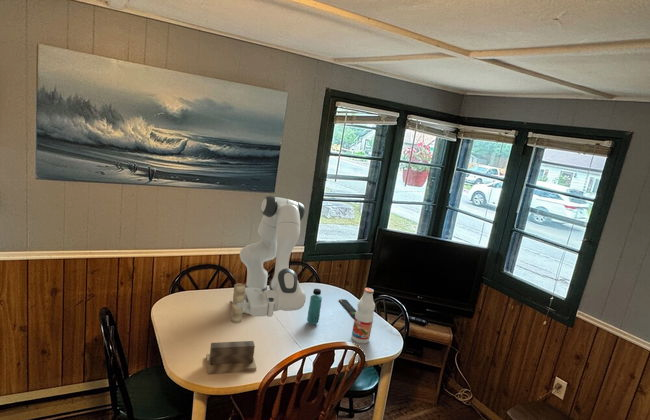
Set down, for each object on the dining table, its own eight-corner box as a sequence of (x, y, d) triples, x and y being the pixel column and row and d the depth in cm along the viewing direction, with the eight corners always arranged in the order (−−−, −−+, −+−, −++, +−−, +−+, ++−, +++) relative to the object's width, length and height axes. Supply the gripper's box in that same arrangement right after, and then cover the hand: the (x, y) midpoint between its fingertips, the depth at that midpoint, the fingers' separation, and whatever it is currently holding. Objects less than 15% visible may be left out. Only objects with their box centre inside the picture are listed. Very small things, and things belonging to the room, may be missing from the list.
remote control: (353, 320, 237) (354, 317, 237) (338, 301, 259) (338, 299, 258) (361, 319, 239) (362, 317, 239) (345, 301, 261) (346, 299, 260)
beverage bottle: (314, 328, 220) (319, 293, 216) (303, 323, 223) (309, 289, 219) (320, 324, 225) (326, 290, 221) (310, 319, 229) (315, 286, 224)
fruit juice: (372, 341, 216) (382, 291, 210) (360, 345, 209) (370, 294, 203) (359, 332, 222) (368, 284, 216) (347, 337, 216) (356, 287, 210)
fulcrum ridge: (207, 374, 169) (209, 353, 167) (206, 357, 180) (208, 337, 178) (256, 370, 176) (258, 350, 174) (251, 354, 187) (253, 336, 185)
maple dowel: (228, 319, 174) (232, 284, 171) (238, 317, 177) (241, 282, 174) (233, 324, 171) (237, 288, 168) (243, 322, 174) (247, 286, 171)
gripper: (264, 283, 185) (233, 283, 181) (274, 304, 167) (239, 305, 162) (263, 296, 187) (232, 297, 182) (272, 318, 168) (238, 319, 163)
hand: (235, 301), depth 172 cm, fingers closed on maple dowel, 4 cm apart
